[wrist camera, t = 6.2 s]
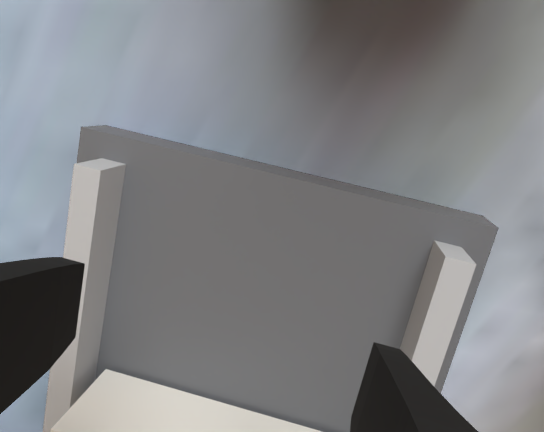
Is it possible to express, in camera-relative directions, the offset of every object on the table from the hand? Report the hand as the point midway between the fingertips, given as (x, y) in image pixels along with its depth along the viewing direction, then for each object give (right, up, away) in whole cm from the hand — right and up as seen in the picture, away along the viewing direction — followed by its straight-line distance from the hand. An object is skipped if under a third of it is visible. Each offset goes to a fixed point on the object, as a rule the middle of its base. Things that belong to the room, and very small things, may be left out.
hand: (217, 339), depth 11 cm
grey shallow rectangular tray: (0, -5, +11) cm, 12 cm away
